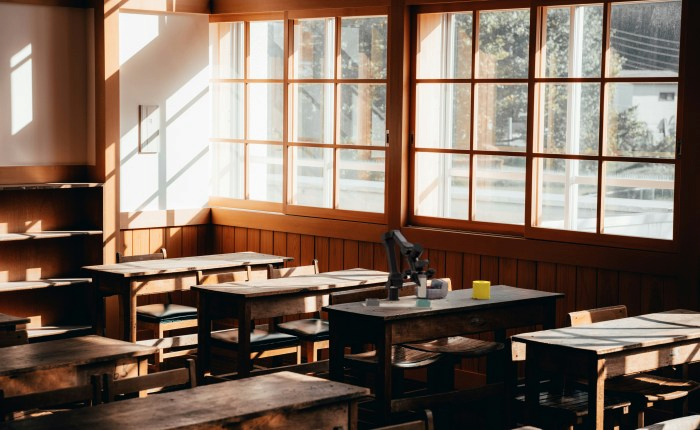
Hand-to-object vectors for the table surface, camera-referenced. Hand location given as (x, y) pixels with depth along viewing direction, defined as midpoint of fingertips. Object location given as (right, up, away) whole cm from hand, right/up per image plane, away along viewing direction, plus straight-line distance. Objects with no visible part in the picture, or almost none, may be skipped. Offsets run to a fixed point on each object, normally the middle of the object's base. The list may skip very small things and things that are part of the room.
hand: (423, 286), depth 573 cm
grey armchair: (+7, -10, +44) cm, 45 cm away
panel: (-14, -12, +3) cm, 18 cm away
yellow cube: (+37, -10, +47) cm, 61 cm away
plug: (-1, -6, +2) cm, 6 cm away
